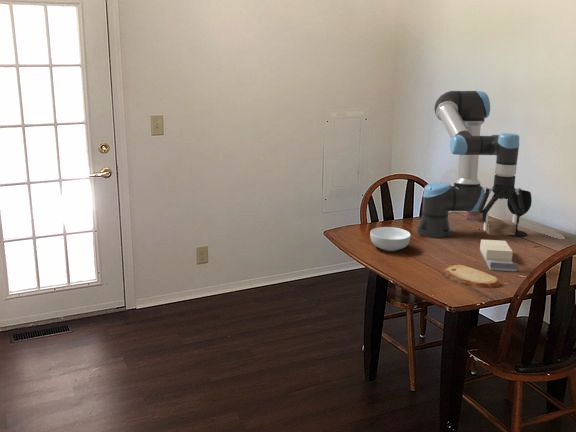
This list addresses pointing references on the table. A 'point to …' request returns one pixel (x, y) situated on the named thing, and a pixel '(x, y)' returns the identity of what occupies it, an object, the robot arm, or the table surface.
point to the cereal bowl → (390, 238)
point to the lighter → (473, 216)
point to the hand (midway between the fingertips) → (499, 230)
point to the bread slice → (470, 276)
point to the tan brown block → (501, 227)
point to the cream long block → (497, 255)
